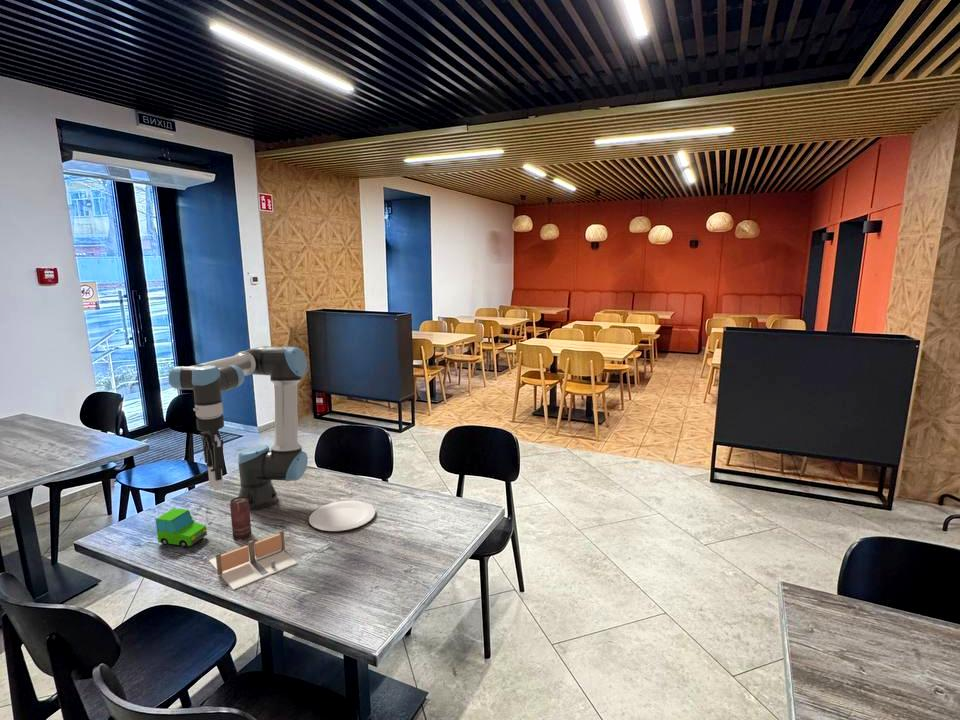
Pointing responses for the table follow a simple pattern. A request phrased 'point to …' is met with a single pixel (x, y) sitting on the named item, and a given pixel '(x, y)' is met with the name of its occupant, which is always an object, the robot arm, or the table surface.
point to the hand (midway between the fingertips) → (216, 487)
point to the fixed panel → (266, 546)
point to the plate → (342, 516)
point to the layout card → (256, 568)
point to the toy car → (179, 528)
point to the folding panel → (232, 559)
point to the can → (240, 518)
